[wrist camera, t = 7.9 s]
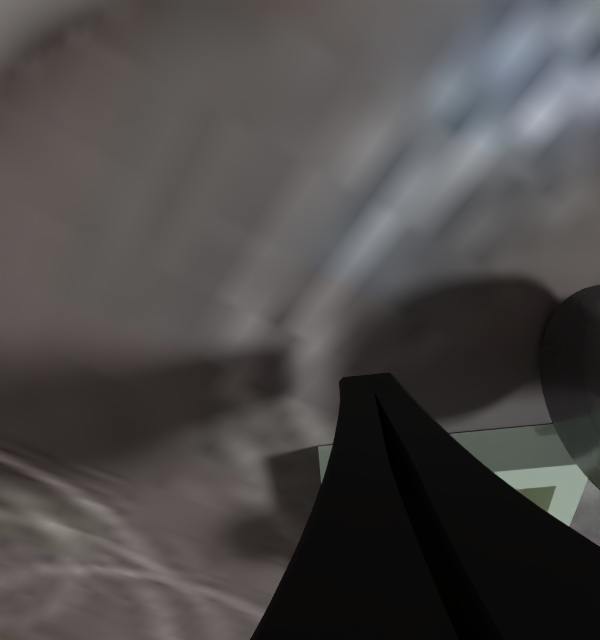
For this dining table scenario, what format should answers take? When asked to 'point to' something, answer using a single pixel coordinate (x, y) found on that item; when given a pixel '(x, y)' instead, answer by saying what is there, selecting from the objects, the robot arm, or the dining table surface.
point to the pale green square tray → (522, 465)
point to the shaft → (575, 378)
